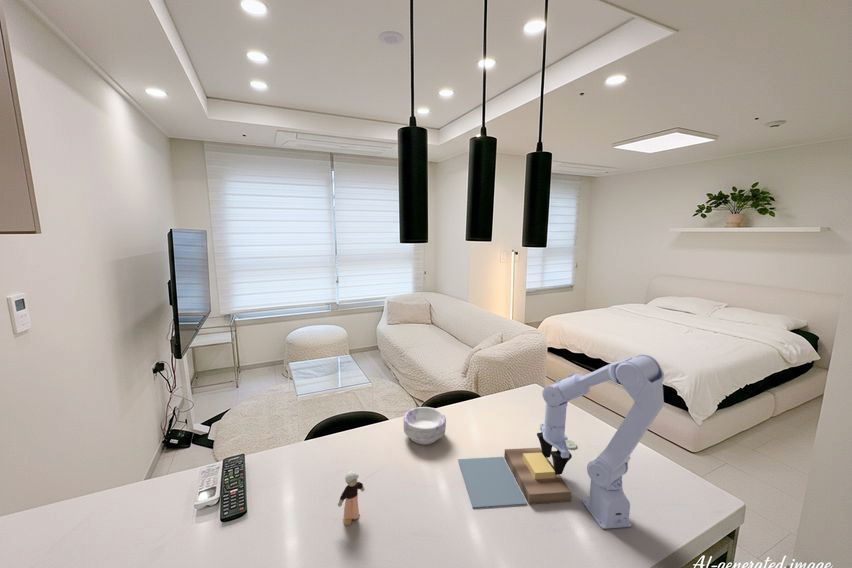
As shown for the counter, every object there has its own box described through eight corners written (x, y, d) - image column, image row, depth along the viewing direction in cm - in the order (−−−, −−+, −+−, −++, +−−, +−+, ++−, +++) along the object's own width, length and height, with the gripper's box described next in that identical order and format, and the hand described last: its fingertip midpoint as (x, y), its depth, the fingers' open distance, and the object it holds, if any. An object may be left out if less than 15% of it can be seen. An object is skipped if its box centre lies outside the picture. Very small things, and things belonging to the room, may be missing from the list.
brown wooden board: (570, 501, 94) (571, 491, 94) (528, 504, 93) (529, 494, 92) (539, 455, 114) (539, 447, 113) (504, 457, 112) (504, 449, 112)
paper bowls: (448, 449, 117) (448, 427, 116) (403, 450, 116) (403, 428, 114) (442, 425, 132) (443, 405, 131) (403, 426, 131) (403, 406, 130)
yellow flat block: (554, 478, 99) (555, 471, 99) (534, 479, 98) (535, 472, 98) (541, 458, 108) (541, 452, 107) (522, 459, 107) (523, 453, 107)
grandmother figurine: (347, 531, 83) (346, 483, 82) (336, 524, 85) (335, 477, 84) (368, 510, 90) (368, 466, 88) (357, 504, 92) (357, 460, 90)
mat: (526, 504, 93) (527, 503, 93) (472, 508, 91) (472, 507, 91) (502, 457, 112) (502, 456, 112) (457, 460, 111) (458, 459, 111)
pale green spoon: (558, 424, 133) (579, 447, 118) (557, 426, 133) (579, 449, 118) (545, 425, 132) (565, 448, 117) (545, 427, 132) (565, 450, 117)
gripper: (581, 436, 95) (577, 481, 97) (556, 410, 109) (553, 449, 111) (556, 437, 94) (553, 482, 96) (534, 411, 108) (532, 450, 110)
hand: (551, 465), depth 103 cm, fingers open, 7 cm apart
